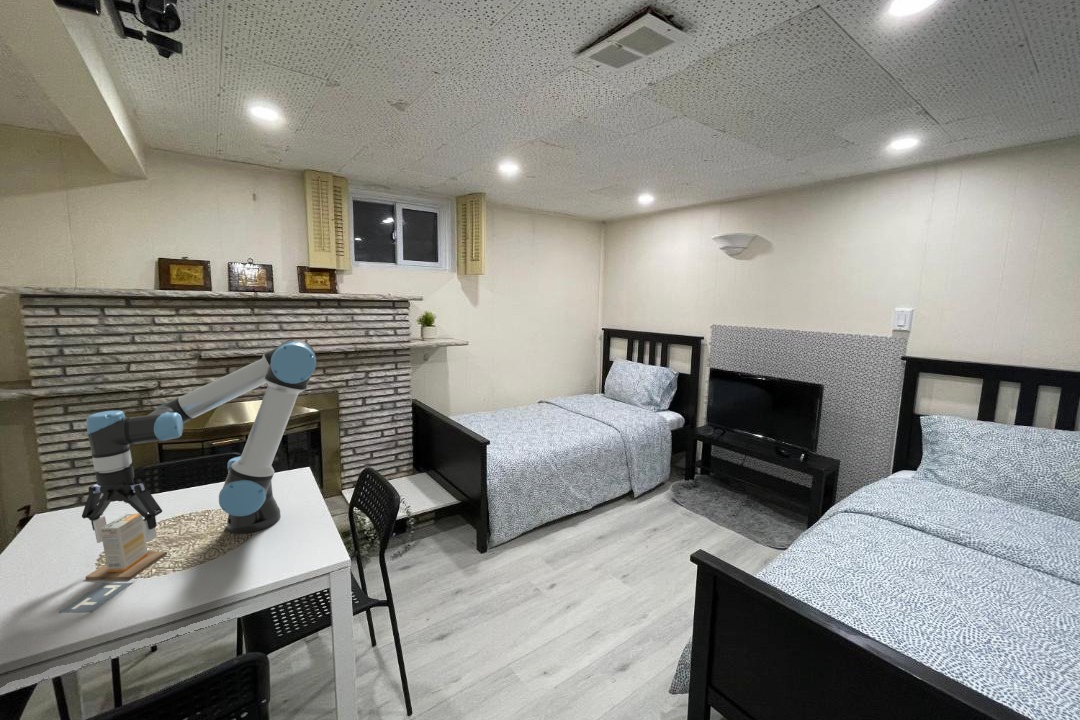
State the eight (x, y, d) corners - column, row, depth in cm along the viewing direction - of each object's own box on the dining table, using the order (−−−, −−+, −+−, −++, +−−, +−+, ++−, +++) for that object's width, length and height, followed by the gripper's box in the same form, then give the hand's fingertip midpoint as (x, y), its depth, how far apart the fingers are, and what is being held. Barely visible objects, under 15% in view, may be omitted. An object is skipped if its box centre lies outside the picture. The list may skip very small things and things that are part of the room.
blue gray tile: (132, 583, 119) (132, 582, 119) (91, 612, 108) (91, 611, 108) (102, 583, 119) (102, 582, 119) (58, 612, 108) (58, 611, 108)
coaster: (166, 554, 133) (166, 551, 133) (130, 579, 121) (129, 576, 121) (126, 553, 133) (126, 551, 133) (85, 579, 121) (85, 576, 121)
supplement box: (131, 555, 131) (125, 513, 129) (148, 554, 131) (143, 512, 129) (105, 572, 122) (99, 527, 121) (124, 572, 123) (117, 527, 121)
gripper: (170, 461, 126) (181, 531, 129) (82, 463, 126) (96, 533, 130) (147, 472, 119) (160, 546, 122) (54, 474, 119) (69, 548, 122)
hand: (127, 539), depth 126 cm, fingers open, 13 cm apart
